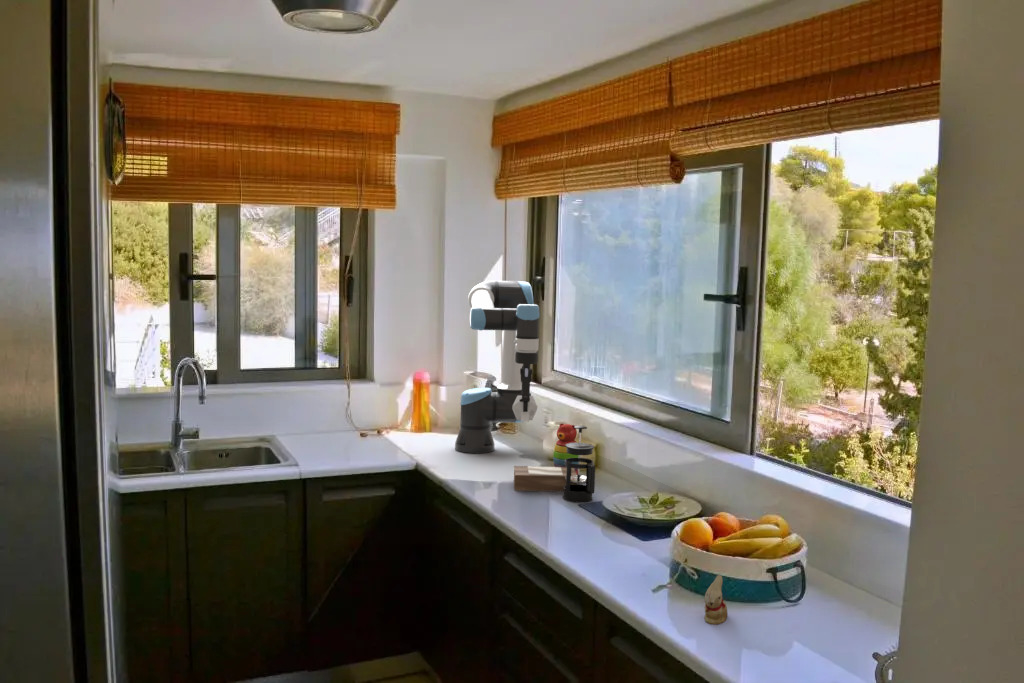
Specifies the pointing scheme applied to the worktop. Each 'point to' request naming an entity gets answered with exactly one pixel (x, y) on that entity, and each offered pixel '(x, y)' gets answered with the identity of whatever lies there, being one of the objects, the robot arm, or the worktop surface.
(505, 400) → the robot arm
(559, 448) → the stacking bear
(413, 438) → the worktop surface
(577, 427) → the french press
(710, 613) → the chocolate bunny
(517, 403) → the die
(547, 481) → the block
